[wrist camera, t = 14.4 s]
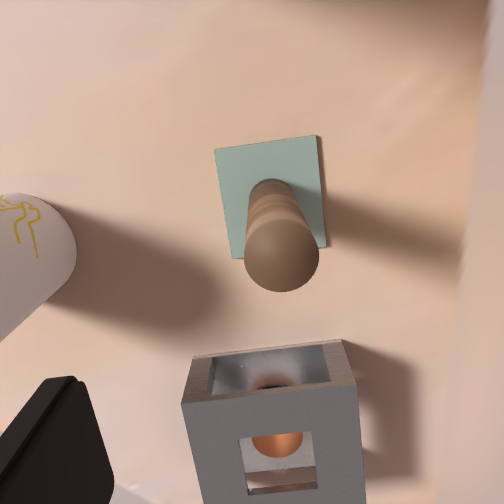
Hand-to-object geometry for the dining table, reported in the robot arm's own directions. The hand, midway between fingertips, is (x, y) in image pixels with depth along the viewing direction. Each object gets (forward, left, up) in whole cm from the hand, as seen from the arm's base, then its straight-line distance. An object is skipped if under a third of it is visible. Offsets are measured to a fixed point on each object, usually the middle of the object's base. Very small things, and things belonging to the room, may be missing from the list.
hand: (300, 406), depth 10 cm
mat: (0, 0, -23) cm, 23 cm away
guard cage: (+18, -2, -23) cm, 29 cm away
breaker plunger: (+18, -2, -22) cm, 28 cm away
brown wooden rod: (0, 0, -23) cm, 23 cm away
